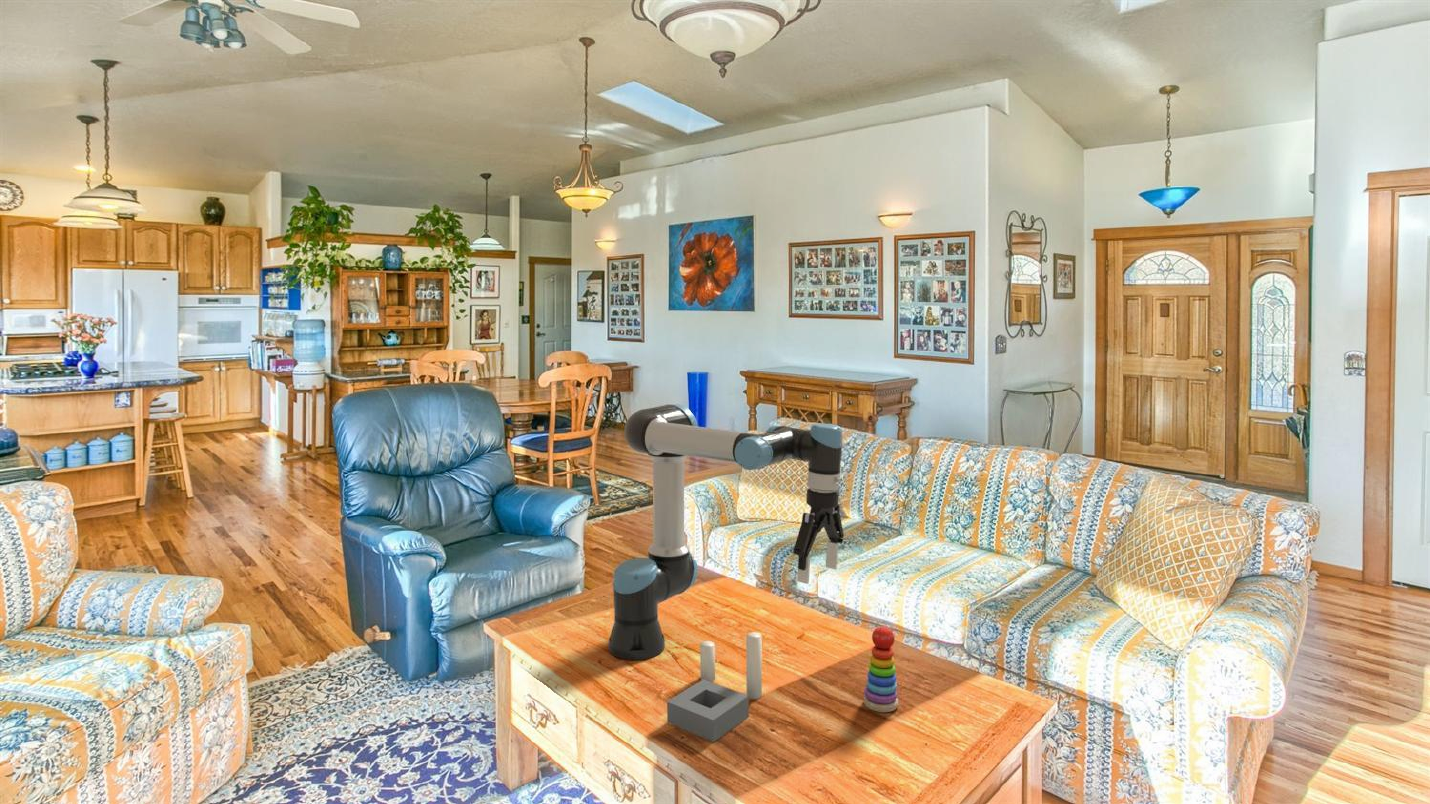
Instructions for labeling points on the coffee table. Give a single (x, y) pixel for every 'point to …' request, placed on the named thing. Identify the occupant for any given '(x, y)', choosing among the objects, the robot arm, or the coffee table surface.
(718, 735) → the hole block
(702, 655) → the short pin
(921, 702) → the coffee table surface
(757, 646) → the tall pin
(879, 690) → the stacking toy
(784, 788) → the coffee table surface
